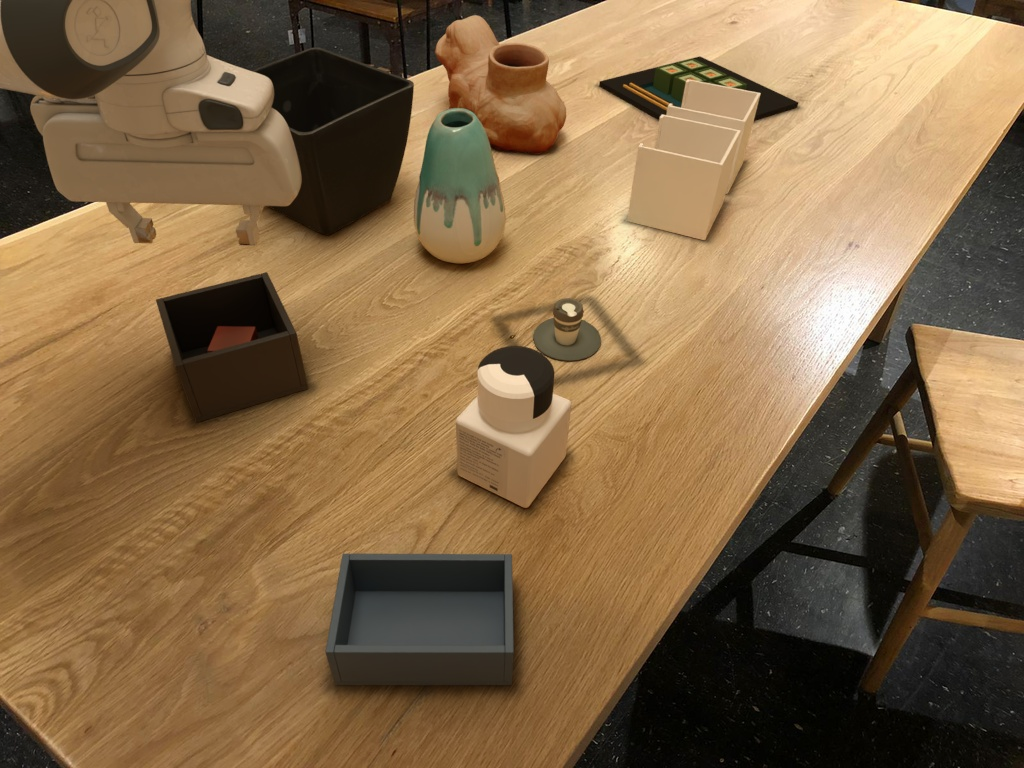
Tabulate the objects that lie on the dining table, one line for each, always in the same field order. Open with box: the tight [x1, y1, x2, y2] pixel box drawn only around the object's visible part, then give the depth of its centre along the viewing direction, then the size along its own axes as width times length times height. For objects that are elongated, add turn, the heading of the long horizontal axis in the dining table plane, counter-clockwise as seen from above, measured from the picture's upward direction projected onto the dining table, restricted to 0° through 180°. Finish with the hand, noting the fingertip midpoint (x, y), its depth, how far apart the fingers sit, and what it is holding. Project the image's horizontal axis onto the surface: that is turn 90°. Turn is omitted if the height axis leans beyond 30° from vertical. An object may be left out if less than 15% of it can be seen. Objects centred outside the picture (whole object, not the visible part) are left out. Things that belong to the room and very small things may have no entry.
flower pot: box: [251, 47, 415, 236], centre depth 101 cm, size 19×19×17 cm
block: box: [207, 326, 259, 353], centre depth 80 cm, size 4×4×4 cm
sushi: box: [598, 55, 799, 121], centre depth 136 cm, size 25×25×4 cm
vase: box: [413, 108, 507, 265], centre depth 94 cm, size 12×12×18 cm
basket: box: [155, 271, 309, 423], centre depth 79 cm, size 11×11×8 cm
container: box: [455, 345, 572, 509], centre depth 68 cm, size 8×8×13 cm
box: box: [325, 553, 515, 686], centre depth 58 cm, size 13×8×5 cm, turn 91°
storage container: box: [626, 79, 761, 241], centre depth 109 cm, size 25×11×11 cm, turn 156°
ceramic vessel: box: [434, 15, 567, 155], centre depth 122 cm, size 14×26×15 cm, turn 40°
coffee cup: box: [532, 297, 602, 362], centre depth 85 cm, size 12×12×5 cm
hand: (198, 241), depth 70 cm, fingers open, 8 cm apart
